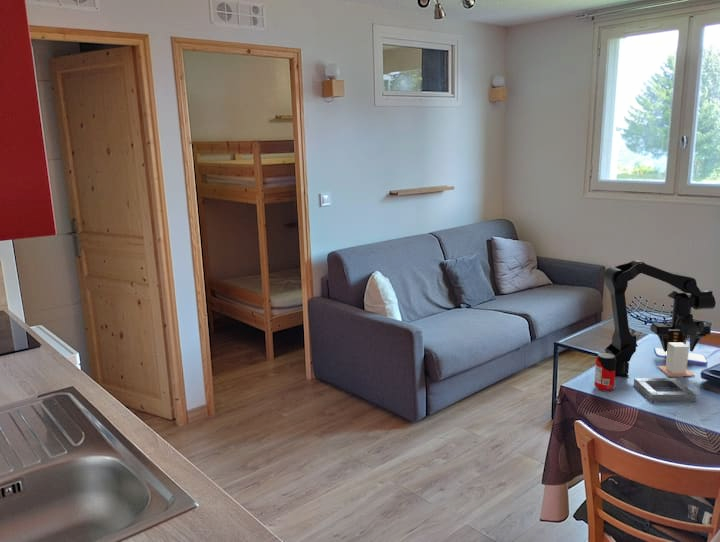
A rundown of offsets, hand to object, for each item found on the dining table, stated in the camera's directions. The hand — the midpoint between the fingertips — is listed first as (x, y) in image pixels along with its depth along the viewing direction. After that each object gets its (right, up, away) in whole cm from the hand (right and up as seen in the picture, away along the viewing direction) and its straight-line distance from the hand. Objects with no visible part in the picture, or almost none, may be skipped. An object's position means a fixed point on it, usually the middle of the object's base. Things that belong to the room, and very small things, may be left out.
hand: (678, 351), depth 206 cm
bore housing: (-14, -12, -16) cm, 24 cm away
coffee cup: (+9, -4, +19) cm, 21 cm away
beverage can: (-32, -11, -11) cm, 36 cm away
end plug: (0, -7, +1) cm, 7 cm away
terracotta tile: (0, -8, +2) cm, 8 cm away
